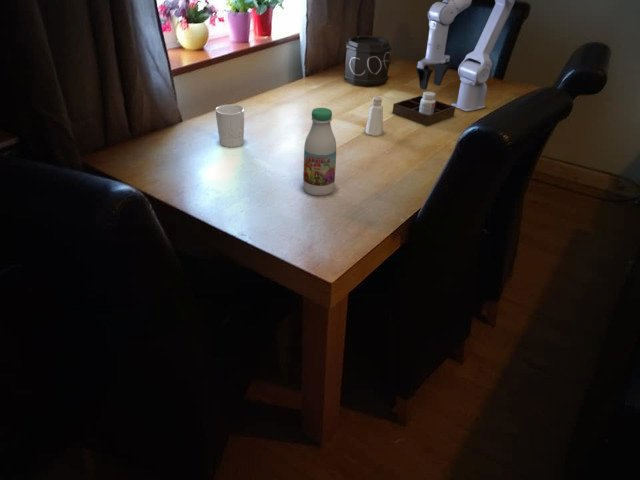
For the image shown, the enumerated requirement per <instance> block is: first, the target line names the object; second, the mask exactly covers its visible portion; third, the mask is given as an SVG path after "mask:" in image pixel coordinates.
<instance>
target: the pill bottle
mask: <svg viewBox="0 0 640 480" xmlns="http://www.w3.org/2000/svg"><path fill="white" fill-rule="evenodd" d="M436 95H437V94H436V93H435V92H434V91H423V92H422V96H423V98H422V99H421V102H420V109H419V112H420V113H423V114H426V115H431V114H433V113H434V108H435V100H436Z"/></svg>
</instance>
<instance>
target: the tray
mask: <svg viewBox="0 0 640 480" xmlns="http://www.w3.org/2000/svg"><path fill="white" fill-rule="evenodd" d="M422 98H423V95H417V96H413V97H411V98H408V99H405V100H401V101H398V102H394V103H393V104H392V114H393V115H396V116H399V117H401V118H404V119H407V120H409V121H412V122H414V123H417V124H420V125H423V126H425V127H429V126H432V125H434V124H437V123H439V122H442V121H446V120H449V119H451V118H454V116H455V112H456V107H455V106H452V105H451V104H448V103H445V102H441V101H438V100H437V99H435V108H434V113H433V114H431V115H426V114H423V113H420V112H419V109H420V102H421V99H422Z"/></svg>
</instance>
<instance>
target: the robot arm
mask: <svg viewBox="0 0 640 480" xmlns="http://www.w3.org/2000/svg"><path fill="white" fill-rule="evenodd" d="M472 1H473V0H442V1H437V2H435V3H433V4H432V5H431V6H430V8H429V10H428V11H427V19H428V26H429V30H428V38H427V46H426V51H425V57H423V58H422V59H421V60H419V61H417V65H416V66H415V71H416V73H417V76H418V82H419V89H420V90H423V91H427V88H428V85H429V81H430V78H431V75H432V73H433V85H434V86H441V83H442V81H443V79H444V76H445V75H446V73H447V71H448V70H449V69H450V67H451V63H450V59H451V58H450V57H451V55H448V54H445V52H446V47H447V40H448V34H449V28H450V25H451V24H452V23H453V22H454V20H455V18H456V16H457V15H458V14H460V13H461V12H463V11H464V10H466V9H468V8H469V7H470V6H471V4H472ZM494 2H495V4H494V6H493V8H492V11H491V12H490V15H489V17H488V19H487V22H486V24H485V26H484V28H483V30H482V33H481V34H480V37H479V39H478V41H477V43H476V45H475V48H474V50H473V51H470V52H469V53H467V54H466V55H465V57H464V58H463V60H462V61H461V63H460V64H459V65H458V69H457V74H458V76H459V80H460V84H459V90H458V95H457V101H456V102H452V103H451V104H450V105H451V106H454V107H455V108H457V109H460V110H462V111H464V112H472V111H475V110H476V111H477V110H481V109H485V108H486V106H485V101H486V97H487V93H488V86H487V83H486V82H487V81H488V79H489V77H490V73H491V69H492V66H493V63H492V59H491V58H490V55H491V54H492V51H493V49H494V47H495V45H496V43H497V41H498V38H499V37H500V34H501V32H502V31H503V28H504V26H505V25H506V22H507V20H508V18H509V16H510V13H511V11H512V9H513V7H514V5H515V2H516V0H494ZM431 66H433V69H431V68H430V67H431Z"/></svg>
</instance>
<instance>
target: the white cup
mask: <svg viewBox="0 0 640 480" xmlns="http://www.w3.org/2000/svg"><path fill="white" fill-rule="evenodd" d="M215 117H216V125H217V132H218V137H219V143H220V145H221V146H223V147H226V148H235V147H240V146H242V145H243V144H244V142H245V141H244V135H245V108H244V107H243V106H241V105H238V104H222V105H219V106H217V107H216V108H215Z"/></svg>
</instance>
